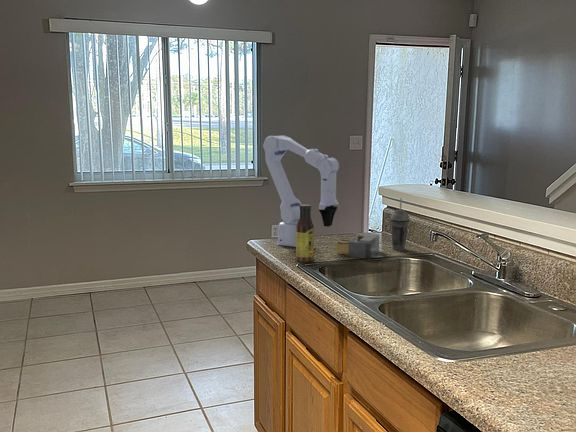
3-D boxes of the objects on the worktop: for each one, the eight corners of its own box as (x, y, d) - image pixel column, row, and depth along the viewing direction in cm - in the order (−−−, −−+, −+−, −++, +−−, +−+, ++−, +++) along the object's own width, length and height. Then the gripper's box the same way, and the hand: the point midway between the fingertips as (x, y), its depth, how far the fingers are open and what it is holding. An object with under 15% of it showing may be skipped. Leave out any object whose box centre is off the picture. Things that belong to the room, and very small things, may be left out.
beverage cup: (407, 247, 219) (409, 196, 215) (409, 251, 211) (411, 199, 208) (388, 246, 219) (390, 196, 216) (389, 251, 212) (391, 199, 209)
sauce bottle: (311, 263, 193) (312, 206, 190) (294, 262, 195) (294, 206, 191) (314, 258, 200) (315, 204, 196) (297, 258, 201) (298, 203, 198)
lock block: (336, 254, 208) (336, 242, 207) (342, 249, 215) (342, 238, 214) (349, 255, 206) (349, 244, 205) (355, 251, 213) (355, 240, 212)
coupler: (348, 256, 203) (348, 239, 202) (358, 249, 215) (359, 232, 214) (369, 258, 200) (370, 241, 199) (379, 251, 212) (379, 234, 211)
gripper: (331, 193, 202) (331, 230, 204) (344, 188, 215) (343, 223, 217) (313, 192, 204) (313, 228, 207) (327, 187, 217) (326, 222, 220)
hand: (327, 225), depth 212 cm, fingers closed
